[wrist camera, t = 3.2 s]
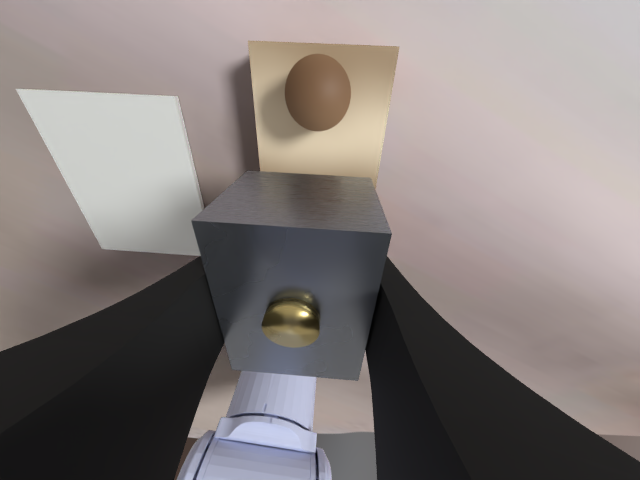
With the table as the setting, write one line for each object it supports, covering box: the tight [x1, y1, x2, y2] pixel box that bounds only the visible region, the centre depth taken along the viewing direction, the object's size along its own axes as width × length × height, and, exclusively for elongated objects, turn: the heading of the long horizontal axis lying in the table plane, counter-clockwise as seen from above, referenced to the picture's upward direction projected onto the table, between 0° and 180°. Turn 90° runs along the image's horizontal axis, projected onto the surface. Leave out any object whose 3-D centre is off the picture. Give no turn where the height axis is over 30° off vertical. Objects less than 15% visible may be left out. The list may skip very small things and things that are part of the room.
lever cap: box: [191, 170, 392, 381], centre depth 8 cm, size 6×4×4 cm
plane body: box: [248, 41, 399, 188], centre depth 15 cm, size 15×7×6 cm, turn 178°
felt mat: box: [16, 89, 204, 256], centre depth 18 cm, size 12×10×1 cm
